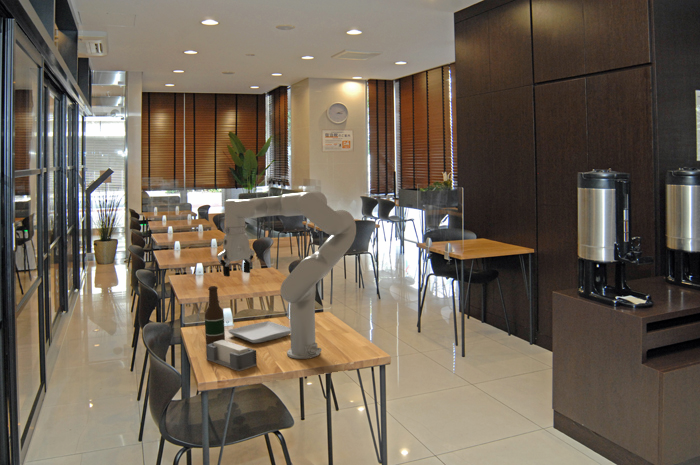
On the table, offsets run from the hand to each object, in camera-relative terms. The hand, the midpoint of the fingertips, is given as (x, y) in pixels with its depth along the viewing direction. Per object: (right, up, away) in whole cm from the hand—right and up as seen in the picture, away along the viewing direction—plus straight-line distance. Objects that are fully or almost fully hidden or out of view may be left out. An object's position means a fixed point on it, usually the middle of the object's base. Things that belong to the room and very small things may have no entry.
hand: (237, 274), depth 218 cm
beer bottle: (-11, -30, +11) cm, 34 cm away
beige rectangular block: (0, -31, -12) cm, 33 cm away
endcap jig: (0, -32, -12) cm, 34 cm away
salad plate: (+6, -29, +21) cm, 36 cm away
